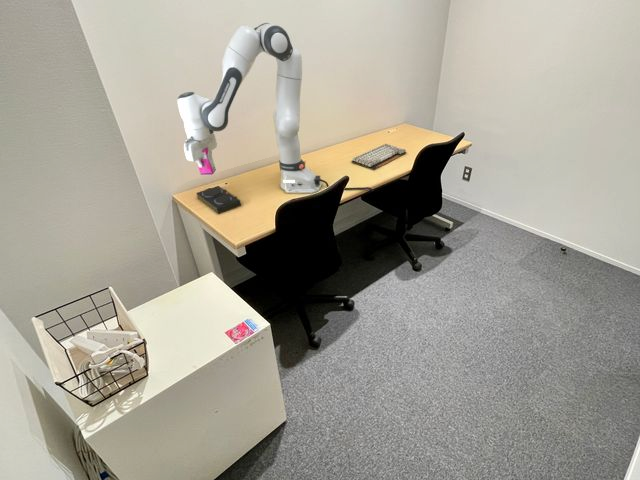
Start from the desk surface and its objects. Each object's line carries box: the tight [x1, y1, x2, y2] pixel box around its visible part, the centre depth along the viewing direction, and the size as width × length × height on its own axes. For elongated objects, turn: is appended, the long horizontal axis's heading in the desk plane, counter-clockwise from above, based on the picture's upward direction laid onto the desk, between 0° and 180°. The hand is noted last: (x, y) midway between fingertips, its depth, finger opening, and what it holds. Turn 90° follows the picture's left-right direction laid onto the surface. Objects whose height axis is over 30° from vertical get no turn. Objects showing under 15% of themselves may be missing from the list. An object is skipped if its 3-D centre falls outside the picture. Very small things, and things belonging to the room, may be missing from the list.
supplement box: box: [197, 146, 217, 176], centre depth 153 cm, size 6×6×12 cm
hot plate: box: [195, 185, 242, 215], centre depth 163 cm, size 22×13×4 cm, turn 45°
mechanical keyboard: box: [351, 143, 407, 171], centre depth 213 cm, size 38×19×3 cm, turn 141°
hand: (205, 163), depth 154 cm, fingers closed on supplement box, 6 cm apart
